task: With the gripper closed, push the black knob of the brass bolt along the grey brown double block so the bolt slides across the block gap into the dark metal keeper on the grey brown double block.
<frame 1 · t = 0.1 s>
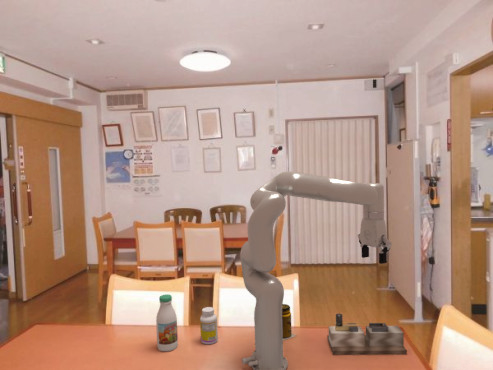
hand: (373, 260, 144), 31 cm above the table, tool pointing down, fingers open, 9 cm apart
grey brown double block: (365, 346, 141), on the table
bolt: (345, 321, 141), point 9 cm above the table, slide at 0.0 cm
condiment: (282, 336, 152), on the table
lock hardware: (367, 327, 140), on the grey brown double block, point 7 cm above the table
milk bottle: (167, 347, 145), on the table
supplement bottle: (209, 341, 149), on the table
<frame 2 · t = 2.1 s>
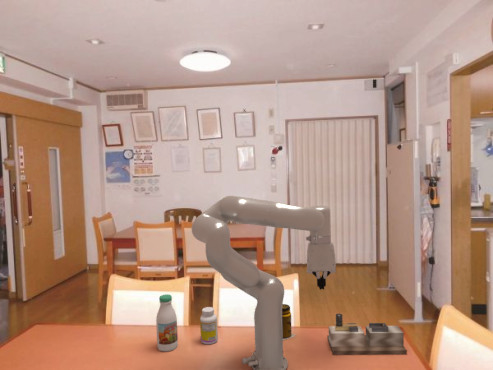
hand: (321, 288, 140), 22 cm above the table, tool pointing down, fingers closed
nothing on the table moved.
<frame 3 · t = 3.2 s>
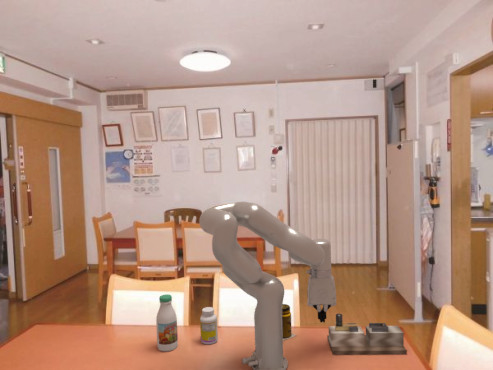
hand: (322, 320, 141), 10 cm above the table, tool pointing down, fingers closed
nothing on the table moved.
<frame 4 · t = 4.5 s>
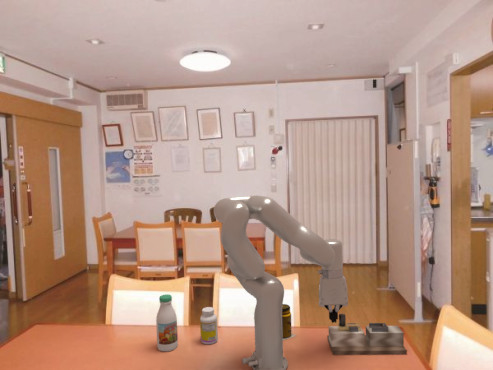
hand: (333, 321, 141), 10 cm above the table, tool pointing down, fingers closed
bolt: (349, 321, 140), point 9 cm above the table, slide at 1.2 cm, touching gripper
everything else where it was.
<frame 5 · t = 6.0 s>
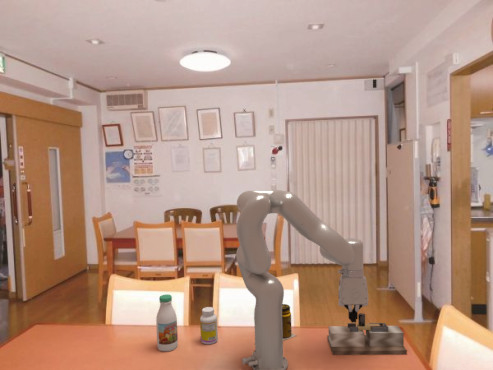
hand: (353, 320, 140), 10 cm above the table, tool pointing down, fingers closed
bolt: (368, 321, 140), point 9 cm above the table, slide at 8.3 cm, touching gripper
everything else where it was.
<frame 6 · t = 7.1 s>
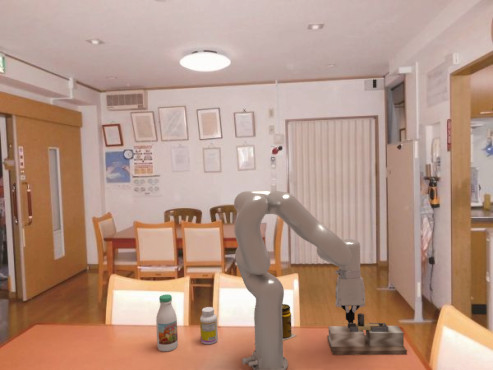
hand: (350, 321, 140), 10 cm above the table, tool pointing down, fingers closed
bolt: (367, 321, 140), point 9 cm above the table, slide at 8.0 cm
everything else where it was.
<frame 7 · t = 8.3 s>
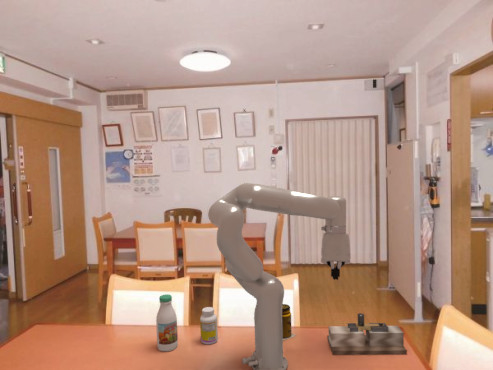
hand: (335, 278, 141), 26 cm above the table, tool pointing down, fingers closed
nothing on the table moved.
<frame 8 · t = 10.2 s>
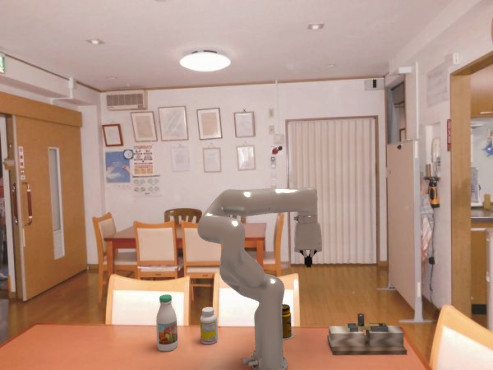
hand: (308, 266, 145), 29 cm above the table, tool pointing down, fingers closed
nothing on the table moved.
at the end: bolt slide at 8.0 cm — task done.
